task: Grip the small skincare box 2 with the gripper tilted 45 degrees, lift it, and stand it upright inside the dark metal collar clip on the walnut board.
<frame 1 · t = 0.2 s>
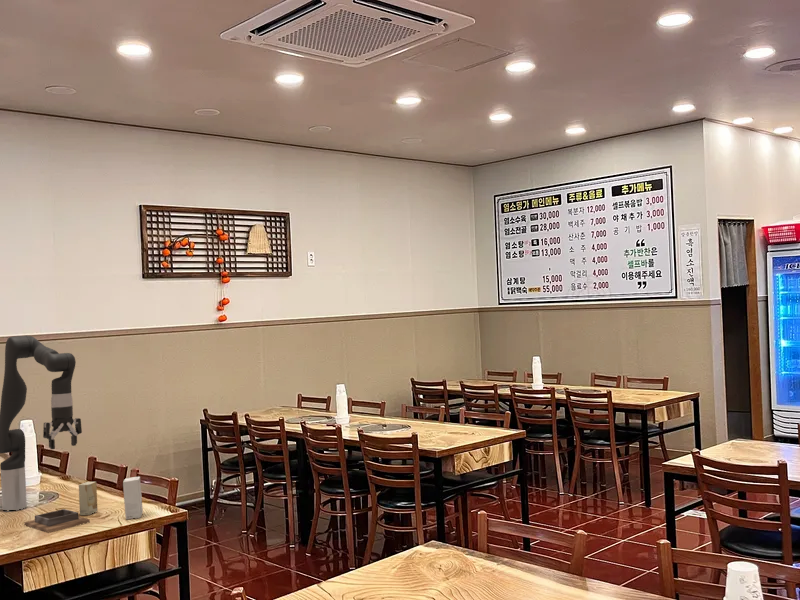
hand: (63, 447, 304), 29 cm above the table, tool pointing down, fingers open, 8 cm apart
skincare box 2: (89, 513, 318), on the table
skincare box: (134, 517, 309), on the table
collar board: (57, 523, 304), on the table
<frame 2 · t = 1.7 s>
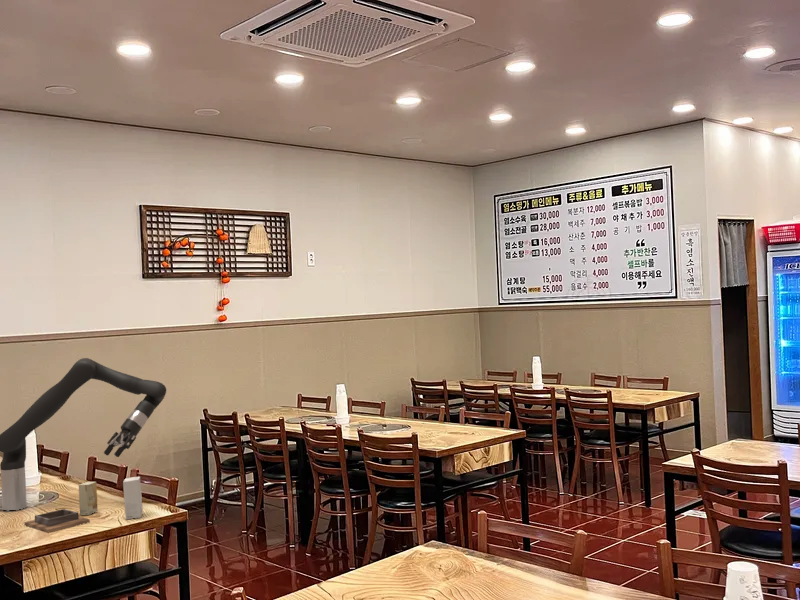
hand: (110, 455, 326), 22 cm above the table, tool tilted 45°, fingers open, 8 cm apart
nothing on the table moved.
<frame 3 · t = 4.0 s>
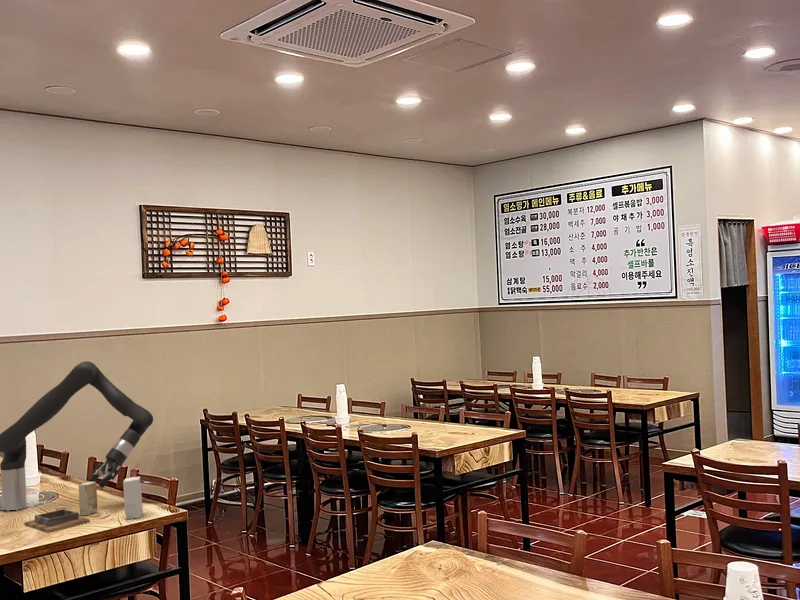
hand: (95, 485, 321), 10 cm above the table, tool tilted 45°, fingers open, 8 cm apart
nothing on the table moved.
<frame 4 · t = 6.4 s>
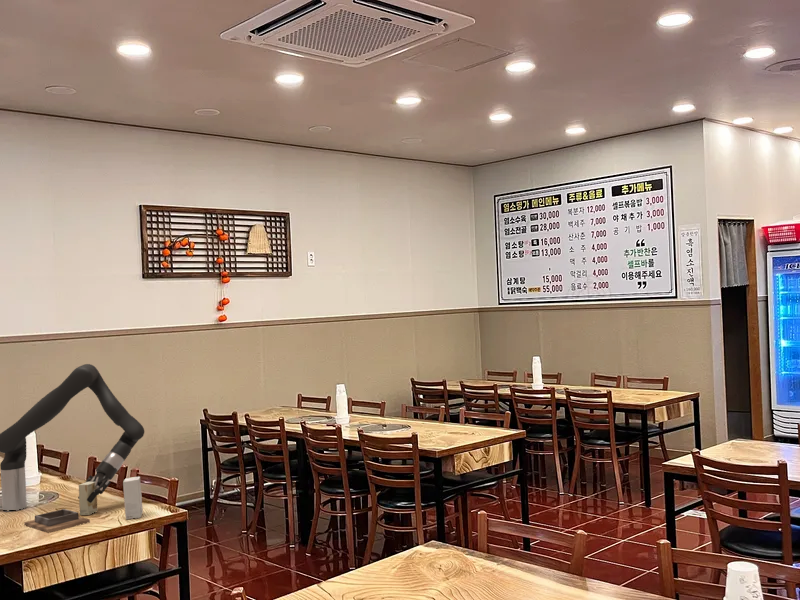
hand: (84, 500, 317), 6 cm above the table, tool tilted 45°, fingers closed on skincare box 2, 6 cm apart
skincare box 2: (88, 513, 318), on the table, touching gripper
everything else where it was.
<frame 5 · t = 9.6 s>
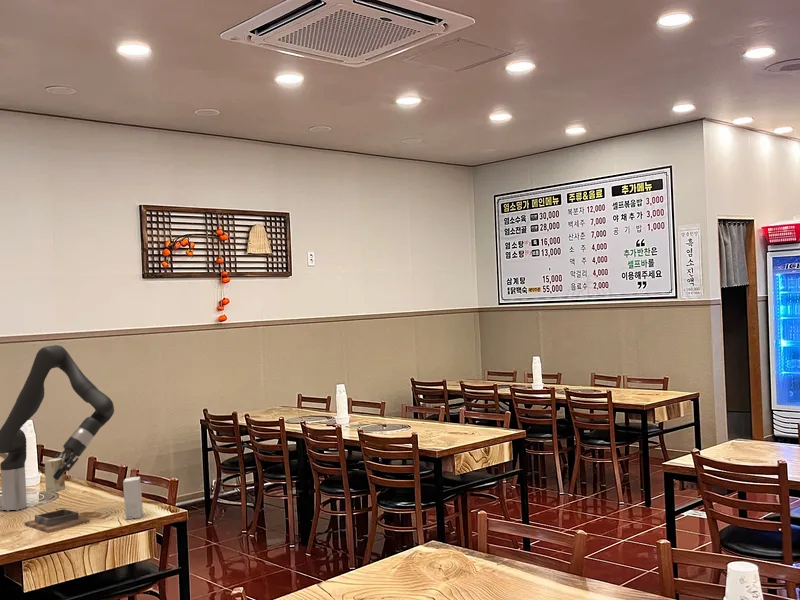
hand: (50, 477, 303), 18 cm above the table, tool tilted 45°, fingers closed on skincare box 2, 6 cm apart
skincare box 2: (55, 491, 304), point 12 cm above the table, touching gripper
everything else where it was.
when the fingers open (8 cm above the table, at t = 12.8 s): skincare box 2 drops 1 cm, resting on collar board.
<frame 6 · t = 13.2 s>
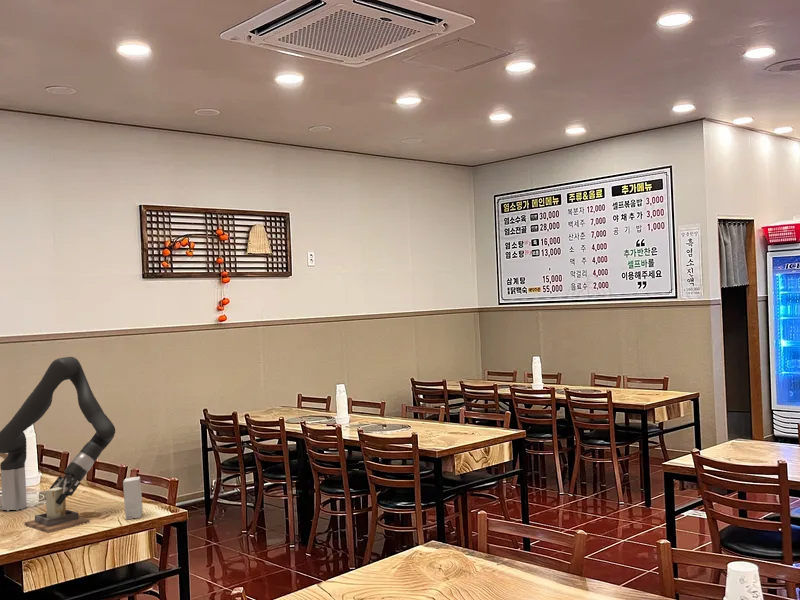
hand: (52, 502, 303), 9 cm above the table, tool tilted 45°, fingers open, 8 cm apart
skincare box 2: (56, 520, 304), point 1 cm above the table, touching collar board
everything else where it was.
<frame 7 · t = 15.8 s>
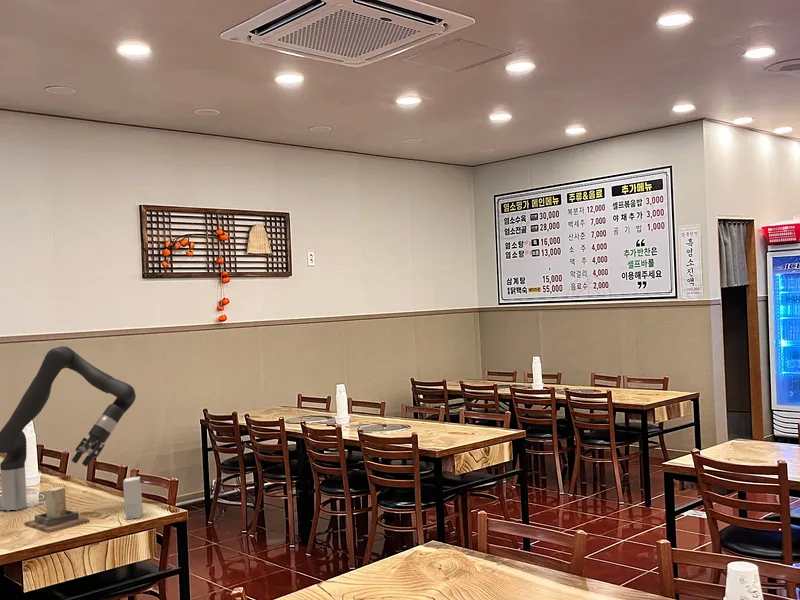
hand: (78, 463, 313), 21 cm above the table, tool tilted 40°, fingers open, 8 cm apart
nothing on the table moved.
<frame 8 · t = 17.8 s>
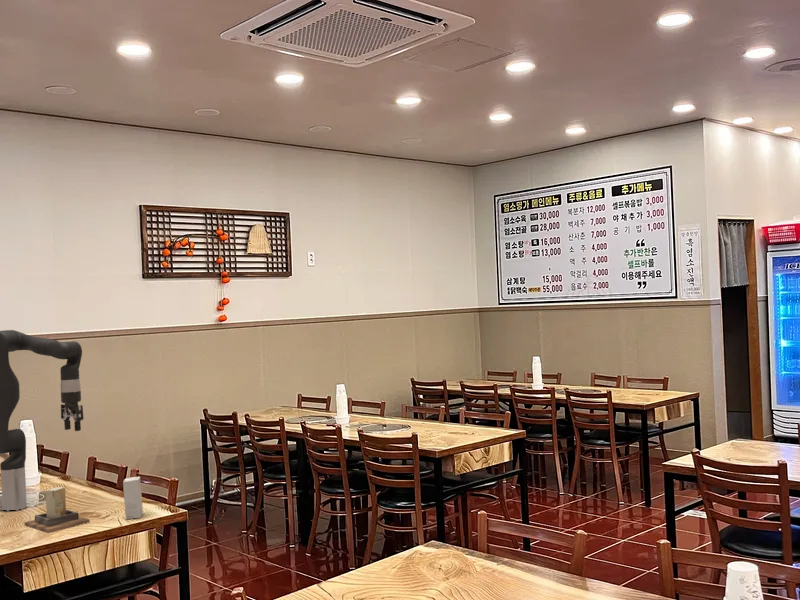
hand: (72, 430, 323), 33 cm above the table, tool pointing down, fingers open, 8 cm apart
nothing on the table moved.
at the end: skincare box 2 0.4 cm off-centre on the collar board, point 1.0 cm above the collar board's base; skincare box 2 tilted 0°; the gripper is holding nothing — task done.
